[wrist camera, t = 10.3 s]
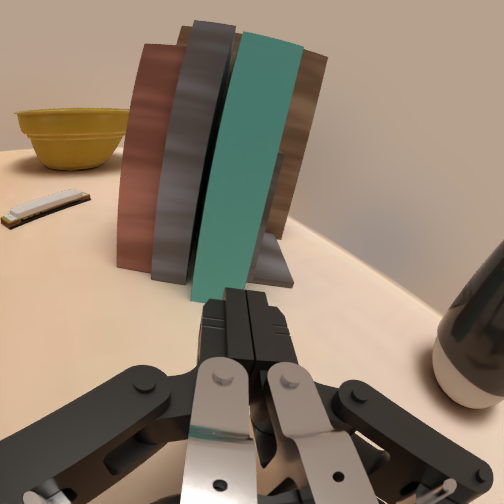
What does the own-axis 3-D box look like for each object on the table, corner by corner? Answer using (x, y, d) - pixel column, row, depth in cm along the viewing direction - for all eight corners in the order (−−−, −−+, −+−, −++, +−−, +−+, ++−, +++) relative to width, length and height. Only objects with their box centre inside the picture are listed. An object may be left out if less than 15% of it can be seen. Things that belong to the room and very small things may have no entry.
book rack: (307, 301, 26) (384, 30, 16) (109, 271, 23) (158, -23, 12) (279, 236, 39) (325, 58, 29) (147, 214, 36) (182, 28, 26)
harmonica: (10, 233, 24) (8, 217, 23) (1, 226, 25) (-1, 211, 24) (90, 202, 37) (91, 189, 36) (78, 198, 38) (78, 186, 37)
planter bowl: (-15, 181, 35) (-12, 113, 30) (42, 153, 62) (47, 107, 57) (129, 186, 46) (139, 110, 41) (143, 157, 73) (151, 110, 68)
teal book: (239, 307, 23) (303, 46, 15) (190, 300, 22) (243, 31, 14) (230, 231, 37) (265, 77, 29) (199, 226, 36) (231, 70, 28)
